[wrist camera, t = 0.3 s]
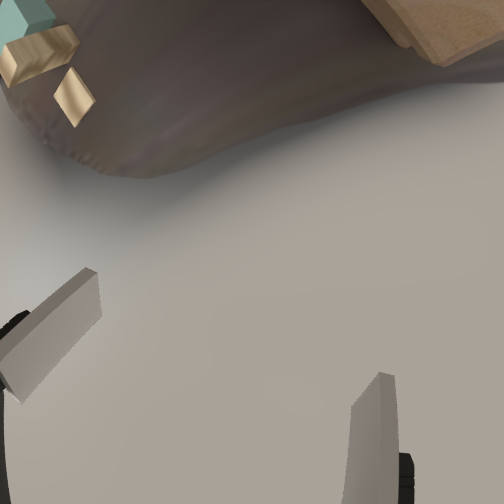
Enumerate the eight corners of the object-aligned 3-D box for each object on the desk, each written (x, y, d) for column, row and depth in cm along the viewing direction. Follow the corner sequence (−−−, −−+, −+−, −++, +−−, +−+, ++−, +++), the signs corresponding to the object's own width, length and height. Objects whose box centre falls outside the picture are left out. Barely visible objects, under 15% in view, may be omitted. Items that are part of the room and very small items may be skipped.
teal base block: (34, -17, 25) (7, -11, 21) (57, 17, 30) (28, 25, 26) (13, 28, 32) (-11, 37, 28) (34, 62, 37) (8, 73, 33)
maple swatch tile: (73, 66, 36) (70, 67, 35) (96, 100, 39) (93, 102, 39) (56, 94, 40) (53, 95, 40) (77, 126, 44) (74, 127, 43)
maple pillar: (68, 23, 30) (5, 43, 22) (81, 42, 32) (17, 65, 24) (55, 44, 33) (-3, 66, 25) (68, 62, 35) (8, 88, 27)
